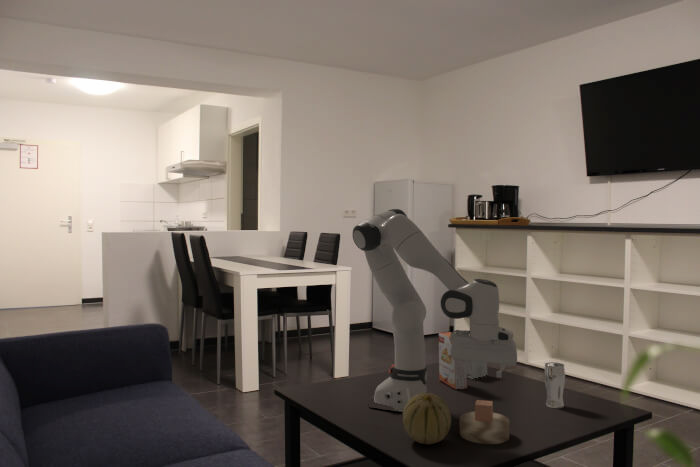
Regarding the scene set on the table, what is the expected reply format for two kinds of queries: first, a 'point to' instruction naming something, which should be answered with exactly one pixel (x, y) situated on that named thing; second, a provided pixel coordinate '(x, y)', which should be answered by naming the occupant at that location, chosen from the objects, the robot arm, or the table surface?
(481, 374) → the skincare box
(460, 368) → the cracker box
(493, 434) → the birch pedestal
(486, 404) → the terracotta cube
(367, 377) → the table surface
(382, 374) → the table surface
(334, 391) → the table surface
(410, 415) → the cantaloupe
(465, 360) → the robot arm
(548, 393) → the beer glass
